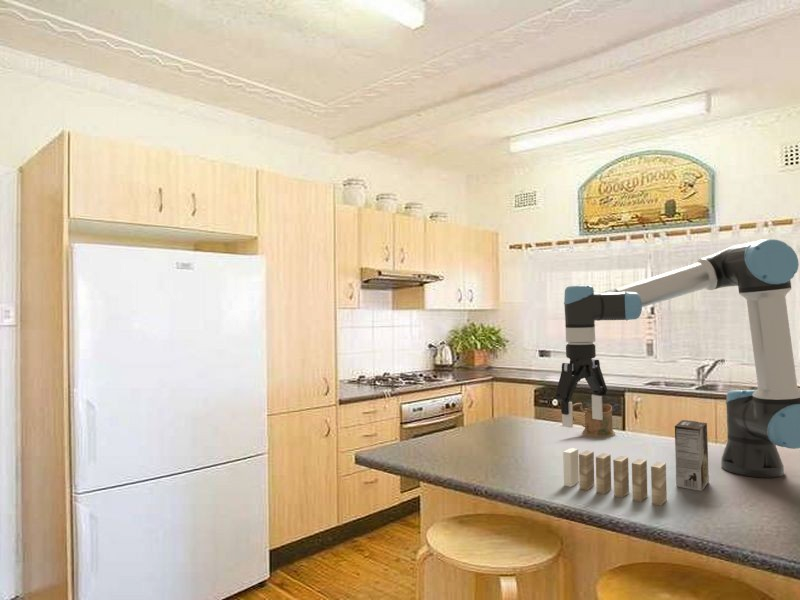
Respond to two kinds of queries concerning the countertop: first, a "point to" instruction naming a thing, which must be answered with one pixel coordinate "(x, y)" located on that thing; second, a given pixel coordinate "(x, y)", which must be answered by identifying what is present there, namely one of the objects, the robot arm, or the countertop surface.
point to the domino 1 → (571, 467)
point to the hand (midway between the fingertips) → (582, 423)
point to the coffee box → (691, 455)
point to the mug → (597, 422)
